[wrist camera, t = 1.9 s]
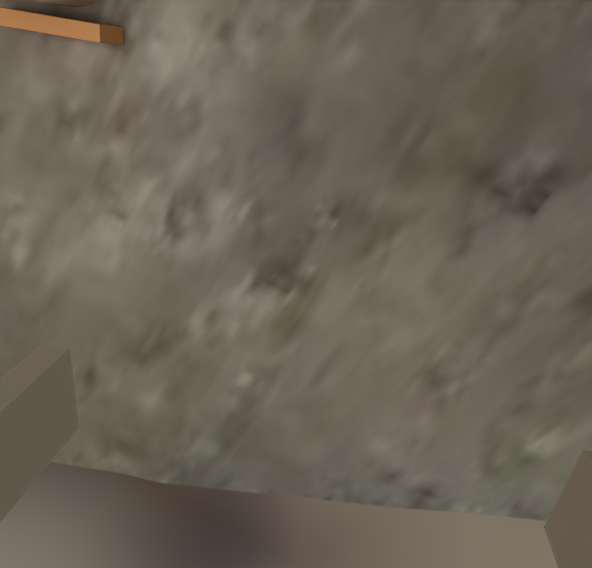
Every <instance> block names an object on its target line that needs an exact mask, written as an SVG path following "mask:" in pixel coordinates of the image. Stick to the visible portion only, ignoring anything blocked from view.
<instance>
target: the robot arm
mask: <svg viewBox="0 0 592 568" xmlns="http://www.w3.org/2000/svg"><path fill="white" fill-rule="evenodd" d="M78 428H79V423H78V415H77V406H76V398H75V389H74V381H73V372H72V364H71V355H70V348H65V347H60V346H55V345H50V344H45V343H42V344H41V345H40V346H39V347H38V348H36V349H35V350H34V351H33V352H32V353H30V354H29V355H28V356H27V357H26V358H24V359H23V360H22V361H21V362H20V363H18V364H17V365H16V366H15V367H14V368H12V369H11V370H10V371H9V372H8V373H6V374H5V375H4V376H3V377H2V378H0V522H1V521H2V520H3V518H4V517H5V516H6V515H7V514H8V512H9V511H10V510H11V509H12V508H13V506H14V505H15V504H16V503H17V502H18V500H19V499H20V498H21V497H22V495H23V494H24V493H25V492H26V491H27V489H28V488H29V487H30V486H31V485H32V483H33V482H34V481H35V480H36V479H37V477H38V476H39V475H40V474H41V472H42V471H43V470H44V469H45V468H46V466H47V465H48V464H49V463H50V462H51V460H52V459H53V458H54V457H55V456H56V454H57V453H58V452H59V451H60V449H61V448H62V447H63V446H64V445H65V443H66V442H67V441H68V440H69V439H70V437H71V436H72V435H73V434H74V433H75V431H76V430H77V429H78ZM544 528H545V531H546V534H547V537H548V539H549V542H550V545H551V548H552V551H553V553H554V556H555V560H556V562H557V565H558V568H592V451H587V450H583V452H582V454H581V456H580V458H579V460H578V462H577V464H576V466H575V468H574V470H573V471H572V473H571V475H570V477H569V479H568V481H567V483H566V485H565V487H564V489H563V491H562V493H561V495H560V497H559V499H558V501H557V503H556V505H555V507H554V509H553V510H552V512H551V514H550V516H549V518H548V520H547V522H546V524H545V526H544Z"/></svg>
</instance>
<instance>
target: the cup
mask: <svg viewBox="0 0 592 568" xmlns="http://www.w3.org/2000/svg"><path fill="white" fill-rule="evenodd" d="M31 1H38V2H44V3H50V4H56V5H63V6H69V7H81V6H86V5H89V4H92V3H94V2H96V1H98V0H31Z"/></svg>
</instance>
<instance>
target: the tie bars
mask: <svg viewBox="0 0 592 568" xmlns="http://www.w3.org/2000/svg"><path fill="white" fill-rule="evenodd" d="M0 25H2V26H8V27H13V28H19V29H25V30H31V31H36V32H42V33H48V34H54V35H59V36H65V37H71V38H76V39H82V40H88V41H94V42H99V43H117V44H124V27H119V26H113V25H107V24H101V23H95V22H89V21H84V20H78V19H72V18H66V17H60V16H54V15H49V14H43V13H37V12H31V11H25V10H19V9H13V8H6V7H0Z"/></svg>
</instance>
